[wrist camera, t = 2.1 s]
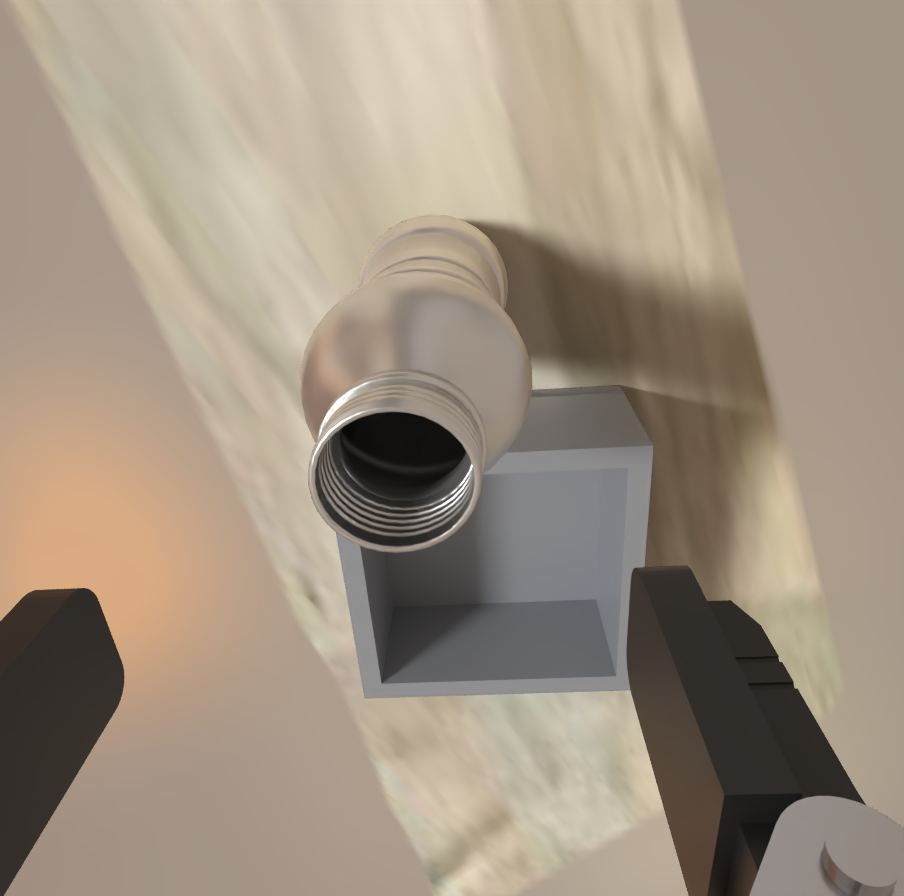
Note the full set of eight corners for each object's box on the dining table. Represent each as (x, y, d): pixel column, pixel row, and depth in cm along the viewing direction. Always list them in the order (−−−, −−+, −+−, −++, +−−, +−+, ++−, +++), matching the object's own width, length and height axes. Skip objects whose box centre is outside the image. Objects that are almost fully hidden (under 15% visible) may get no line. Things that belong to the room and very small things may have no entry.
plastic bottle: (342, 243, 31) (171, 409, 13) (475, 182, 30) (485, 276, 12) (400, 363, 34) (323, 639, 16) (525, 312, 32) (595, 551, 14)
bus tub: (350, 399, 35) (323, 461, 28) (619, 385, 34) (653, 445, 28) (380, 609, 41) (364, 698, 35) (609, 601, 40) (635, 690, 34)
